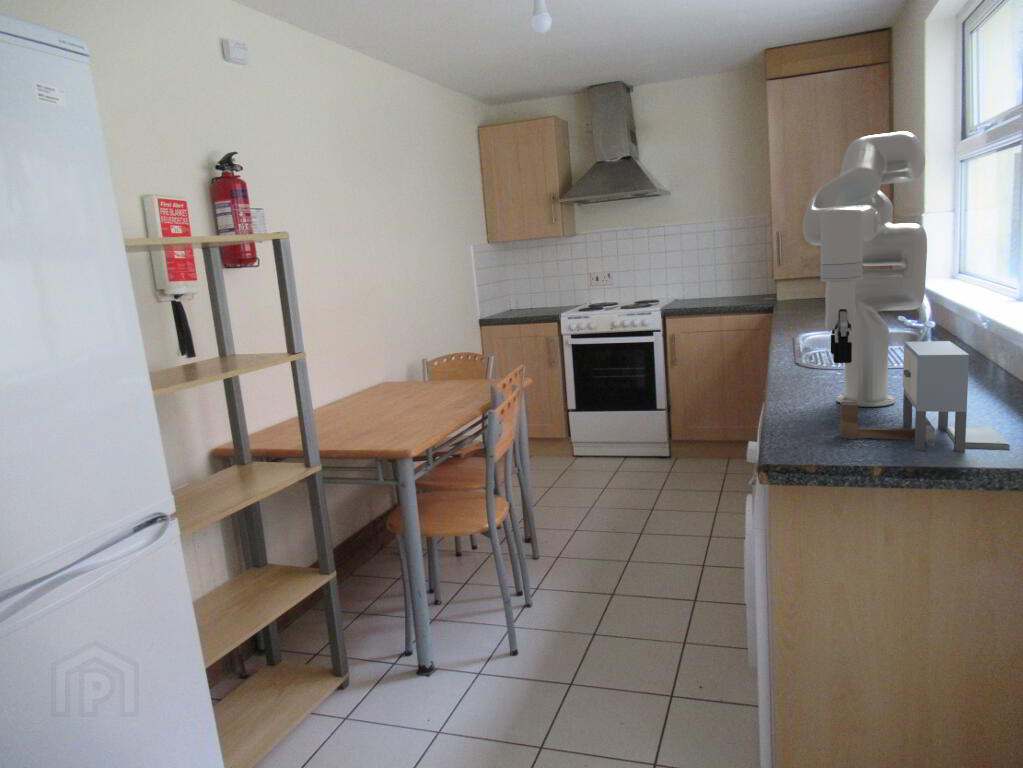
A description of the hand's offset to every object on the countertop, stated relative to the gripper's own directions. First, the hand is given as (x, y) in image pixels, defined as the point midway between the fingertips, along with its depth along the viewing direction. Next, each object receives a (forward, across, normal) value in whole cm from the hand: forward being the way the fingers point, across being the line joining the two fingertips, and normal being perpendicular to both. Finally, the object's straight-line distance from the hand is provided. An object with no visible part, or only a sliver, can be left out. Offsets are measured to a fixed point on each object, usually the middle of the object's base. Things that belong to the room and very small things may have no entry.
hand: (840, 358), depth 150 cm
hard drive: (+17, +1, +24) cm, 29 cm away
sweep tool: (+16, +1, +8) cm, 18 cm away
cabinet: (+16, +1, +16) cm, 23 cm away
